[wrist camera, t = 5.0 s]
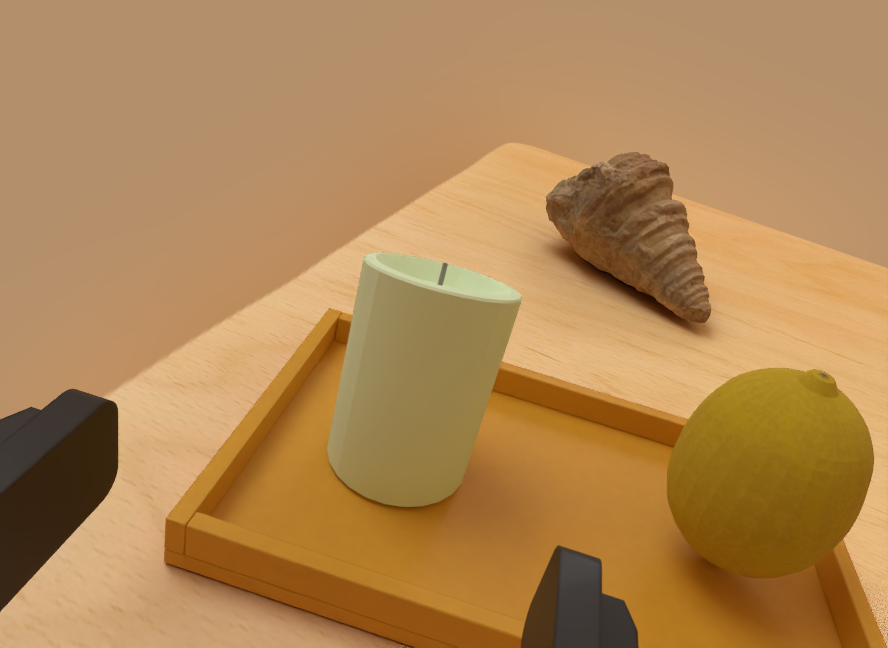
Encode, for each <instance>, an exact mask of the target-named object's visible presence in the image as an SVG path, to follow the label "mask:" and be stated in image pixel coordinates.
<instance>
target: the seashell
mask: <svg viewBox="0 0 888 648" xmlns="http://www.w3.org/2000/svg"><path fill="white" fill-rule="evenodd" d="M672 191H673V181H672V179H671V178H670V174H669V167H668V166H667V164H666V163H662V162H658V161H657V160H652V159H651V158H650V156H648V155H646V154H640V153H638V152H630V153H624V154H619V155H617V156H615V157H614V158H612V159H611V160H609V161H608V162H601V163H599V164H597V165H593V166H592V167H591V168H586V169H584V170H582V171H581V172H580V173H579V175H578V176H574V177H572V178H568V179H567V180H562V181H561V182H559V183H558V184H557V186H556V187H555V188H554V189H553V191H552V192H550V193H549V194H548V195H547V197H546V201H547V206H546V210H547V213H548V217H549V220H550V221H552V222H553V223H554V225H555V226H556V228H557V230H558V231H559V232H560V234H561V235H562V237H563V238H564V239H565V240H567V241H569V242H570V243H571V244H573V247H574V250H575V251H576V252H577V254H579V255H580V257H582V258H583V259H584V260H587V261H588V262H589V263H591V264H592V265H594V266H595V267H596V268H597V269H598V270H601V271H604V272H608V273H610V274H612V276H613V277H615V278H616V279H619V280H621V281H623V282H624V283H626V284H628V285H631V286H633V287H635V288H636V289H637V291H640V292H643V293H645V294H648V295H650V296H653V297H655V299H656V300H657V301H658V302H659V303H661V304H663V305H664V306H665V307H666V308H668V309H669V310H671V311H673V312H674V313H675V315H677V316H679V317H680V318H682V319H685V320H688V321H692V322H697V323H705V322H706V321H707V319H708V318H709V316H710V313H711V306H710V303H709V300H708V298H709V293H708V288H707V287H706V286H705V285H704V282H703V281H704V277H705V276H704V275H703V271H702V267H701V266H700V265H699V264H698V263H697V260H696V259H697V251H696V249H695V246H696V245H695V241H694V239H693V238H692V237H691V236H689V233H688V228H689V223H688V221H687V219H686V217H687V213H686V208H685V206H684V205H683V204H682V203H681V202H679V201H676V200H672V198H671V196H672Z"/></svg>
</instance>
